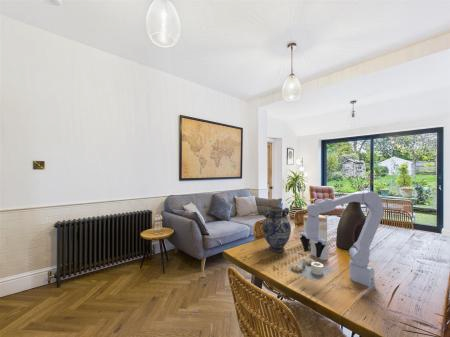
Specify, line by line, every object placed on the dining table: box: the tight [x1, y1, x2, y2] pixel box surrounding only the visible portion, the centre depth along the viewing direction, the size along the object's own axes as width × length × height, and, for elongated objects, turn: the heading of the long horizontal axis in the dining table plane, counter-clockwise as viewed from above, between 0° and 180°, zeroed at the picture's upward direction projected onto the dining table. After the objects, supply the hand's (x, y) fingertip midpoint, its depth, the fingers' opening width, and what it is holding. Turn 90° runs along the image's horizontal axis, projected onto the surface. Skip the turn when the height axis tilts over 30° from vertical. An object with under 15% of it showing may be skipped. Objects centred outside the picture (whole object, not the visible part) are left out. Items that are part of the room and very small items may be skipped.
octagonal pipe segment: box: [311, 261, 324, 275], centre depth 104 cm, size 5×5×4 cm
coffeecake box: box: [303, 214, 328, 245], centre depth 151 cm, size 15×7×20 cm, turn 80°
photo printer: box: [310, 240, 329, 261], centre depth 123 cm, size 10×4×12 cm, turn 25°
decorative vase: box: [262, 206, 292, 253], centre depth 139 cm, size 21×19×28 cm
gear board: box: [286, 257, 334, 282], centre depth 107 cm, size 16×18×6 cm
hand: (312, 254), depth 105 cm, fingers open, 7 cm apart
